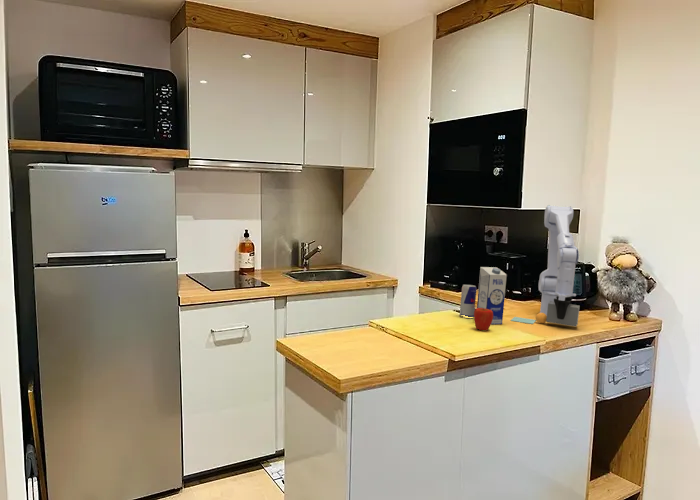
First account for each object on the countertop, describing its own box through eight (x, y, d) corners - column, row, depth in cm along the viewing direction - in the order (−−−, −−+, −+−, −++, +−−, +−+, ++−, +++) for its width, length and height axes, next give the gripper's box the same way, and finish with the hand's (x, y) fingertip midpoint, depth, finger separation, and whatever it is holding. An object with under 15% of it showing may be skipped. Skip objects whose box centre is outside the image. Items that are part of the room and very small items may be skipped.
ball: (538, 323, 196) (535, 312, 196) (549, 321, 194) (546, 311, 194) (536, 325, 193) (533, 314, 193) (547, 323, 191) (545, 312, 191)
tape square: (514, 317, 202) (514, 316, 202) (536, 320, 198) (536, 320, 198) (510, 320, 195) (510, 320, 195) (532, 324, 191) (533, 323, 191)
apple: (493, 329, 178) (495, 308, 178) (490, 333, 173) (492, 310, 172) (474, 326, 181) (476, 305, 180) (471, 330, 175) (472, 308, 175)
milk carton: (491, 320, 194) (496, 266, 192) (502, 324, 188) (507, 269, 186) (475, 320, 192) (480, 266, 190) (485, 324, 185) (490, 268, 184)
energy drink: (474, 319, 193) (477, 287, 192) (459, 317, 194) (462, 286, 193) (473, 316, 199) (476, 285, 198) (459, 314, 200) (462, 284, 199)
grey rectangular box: (548, 319, 195) (550, 301, 194) (577, 323, 191) (579, 305, 190) (546, 321, 190) (548, 303, 189) (576, 326, 185) (578, 308, 185)
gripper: (575, 284, 181) (571, 322, 182) (578, 280, 194) (574, 315, 195) (554, 281, 184) (550, 319, 185) (558, 277, 197) (554, 313, 198)
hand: (561, 317), depth 190 cm, fingers closed on grey rectangular box, 6 cm apart
